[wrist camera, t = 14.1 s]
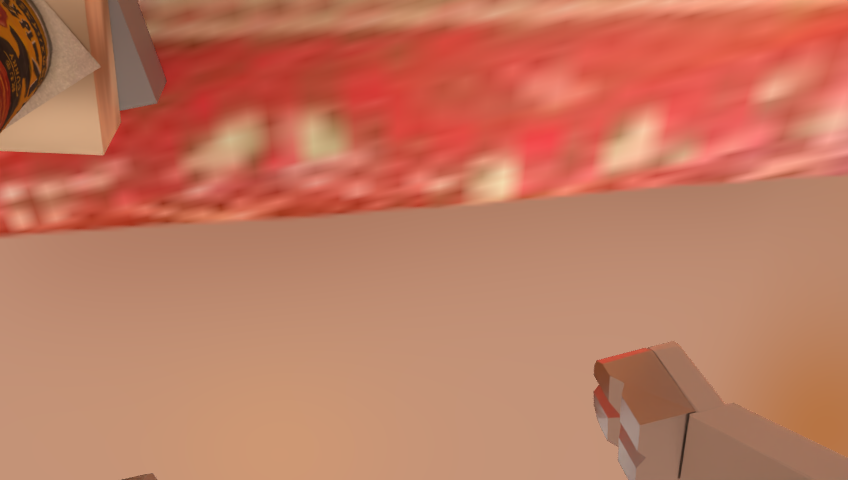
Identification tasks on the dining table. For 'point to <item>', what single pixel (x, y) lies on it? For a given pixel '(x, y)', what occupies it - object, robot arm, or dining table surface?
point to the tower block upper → (75, 93)
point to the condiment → (36, 58)
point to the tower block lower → (134, 56)
